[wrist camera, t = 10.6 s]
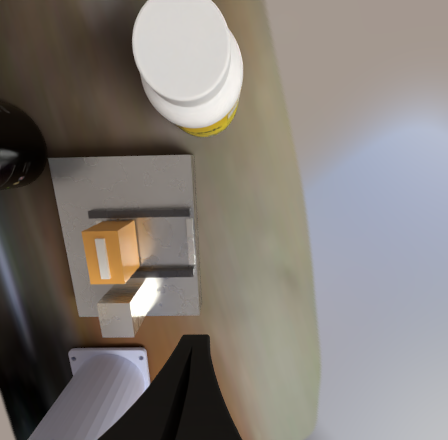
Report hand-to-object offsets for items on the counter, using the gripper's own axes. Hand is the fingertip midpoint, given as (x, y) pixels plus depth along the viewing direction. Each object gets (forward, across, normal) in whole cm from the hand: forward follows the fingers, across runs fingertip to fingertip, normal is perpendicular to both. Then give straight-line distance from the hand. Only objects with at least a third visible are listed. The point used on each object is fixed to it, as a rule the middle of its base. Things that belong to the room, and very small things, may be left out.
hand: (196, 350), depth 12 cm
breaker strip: (+10, +6, -3) cm, 13 cm away
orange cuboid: (+8, +7, -3) cm, 11 cm away
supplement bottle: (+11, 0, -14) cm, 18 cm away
